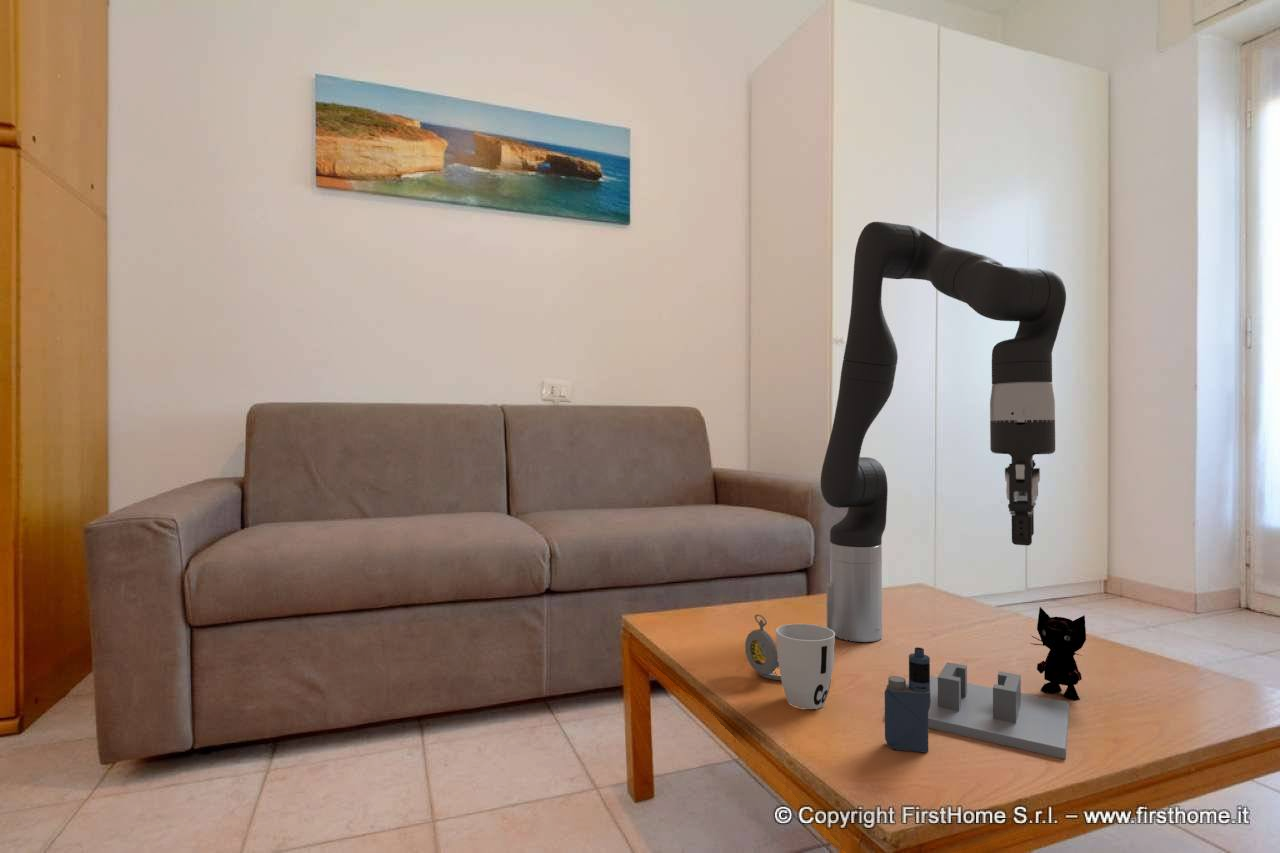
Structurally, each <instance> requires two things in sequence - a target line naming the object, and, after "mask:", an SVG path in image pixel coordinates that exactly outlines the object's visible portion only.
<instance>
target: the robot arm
mask: <svg viewBox="0 0 1280 853" xmlns="http://www.w3.org/2000/svg"><path fill="white" fill-rule="evenodd" d="M884 279H893V280H904V279H905V280H906V279H907V280H908V279H909V280H910V279H913V280H921V281H922V280H923V281H927V282H930V283H931V284H932V286H933V287H934V288H935V289H936V290H937V292H938V291H939V292H940V293H941V294H943V295H945V296H947V297H950V298H952V299H955V300H957V301H959V302H962V303H964V304H967V305H968V306H969V307H970V308H971V309H972V310H973V311H975V312H976V313H977V314H978V315H980V316H982V317H985V318H988V319H990V320H993V321H994V320H995V321H1000V322H1001V321H1002V322H1018V323H1019V324H1018V328H1017V331H1016V333H1015V335H1014V338H1010V339H1004V340H1002V341H999V342H997V343H996V344H995V345H994V346H993V348H992V351H991V353H992V354H991V391H990V399H989V425H990V426H989V433H990V434H989V437H990V440H989V443H990V451H991V453H992V454H996V455H998V454H1002V455H1009V456H1010V457H1011V463H1009V464H1008V466H1006V467H1005V468H1004V478H1005V482H1006V487H1005V488H1006V490H1005V492H1006V499H1007V500H1008V502H1009V503H1008V504H1007V508H1008V512H1009V513H1010V514H1009V515H1011V543H1012V544H1014V545H1016V546H1028V547H1029V546H1030V545H1032V542H1033V536H1034V534H1035V530H1034V528H1035V525H1034V522H1035V521H1034V519H1035V518H1034V515H1035V514H1034V513H1035V512H1034V510H1035V506H1037V505H1036V504H1037V502H1036V501H1037V500H1038V497H1039V483H1040V479H1041V469H1040V467H1035V466H1036V462H1035V459H1034V458H1033V456H1035V455H1051V454H1054V453H1055V452H1056V400H1055V394H1054V388H1053V350H1054V346H1055V342H1056V341H1057V337H1058V333H1059V329H1060V327H1061V326H1060V325H1061V323H1062V319H1063V316H1064V312H1065V308H1066V303H1067V302H1066V301H1067V293H1066V287H1065V285H1064V284H1065V283H1064V281H1063V279H1062V278H1061V276H1059V274H1058V273H1057V272H1055V271H1053V270H1051V269H1047V268H1031V267H1029V268H1028V267H1016V266H1015V267H1013V266H1006V265H1004V264H1003V263H1002V262H1001V261H999V260H997V259H996V258H993V257H991V256H988V255H985V254H981V253H977V252H975V251H970V250H967V249H962V248H957V247H953V246H949V245H947V244H945V243H943V242H941V241H939V240H938V239H935V238H934V237H933V236H932V235H929V234H928V233H927V232H925V231H923V230H921V229H920V228H917V227H915V226H913V225H908V224H899V223H893V222H892V223H890V222H885V221H872V222H870V223H869V222H868V223H867V224H866V225H865V226H864V228H862V230H861V231H860V235H859V236H858V239H857V243H856V247H855V253H854V262H853V276H852V291H851V305H850V306H851V307H850V316H849V322H848V330H847V336H846V337H847V338H846V342H845V349H844V353H843V360H842V365H841V366H842V367H841V371H840V380H839V388H838V396H837V401H836V405H835V406H836V407H835V413H834V418H833V424H832V428H831V432H830V437H829V440H828V444H827V447H826V451H825V455H824V460H823V464H822V468H821V473H820V491H821V494H822V497H823V499H824V501H825V502H826V503H827V504H828V505H829V506H831V507H833V508H842V509H843V508H845V509H846V508H847V512H846V514H845V516H844V517H843V518H842V519H841V520H840V521H839V522H837V523H835V524H834V525H833V526H832V527H830V531H829V565H830V566H829V568H830V570H829V572H830V575H829V578H830V579H829V580H830V581H829V582H827V583H826V628H829V629H831V630H832V631H834V632H835V636H836V637H835V638H837V637H838V638H837V639H840V640H843V639H844V640H843V641H848V640H849V642H857V643H859V642H860V643H869V642H877V641H880V640H882V638H883V570H882V569H883V568H882V567H883V566H882V565H883V563H882V562H883V560H882V558H883V557H882V556H883V555H882V553H883V552H882V551H883V550H882V549H883V548H882V547H883V546H882V544H883V543H882V538H883V535H884V533H885V530H886V526H887V511H888V510H887V509H888V491H889V490H888V489H889V488H888V478H887V474H886V471H885V468H884V466H883V465H882V464H881V462H879V461H878V460H877V459H875V458H873V457H865V456H864V457H863V456H861V457H860V455H861V452H862V446H863V442H864V439H865V437H866V434H867V432H868V430H869V429H870V426H871V425H872V424H873V422H874V421H875V420H876V419H877V417H878V415H879V414H880V413H881V411H882V409H883V408H884V406H885V405H886V404H887V402H888V400H889V398H890V396H891V394H892V391H893V387H894V383H895V377H896V370H897V365H898V350H897V349H898V348H897V345H896V342H895V340H894V337H893V334H892V332H891V329H890V327H889V324H888V323H887V320H886V317H885V313H884V310H883V304H882V294H883V293H882V290H883V280H884Z"/></svg>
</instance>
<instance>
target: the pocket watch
mask: <svg viewBox="0 0 1280 853" xmlns="http://www.w3.org/2000/svg"><path fill="white" fill-rule="evenodd" d="M757 617H761V618H762V619H759V620H758V618H757ZM754 619H755V621H756V622H757V624H758V626H759V628H757V629H754V630H752V631H750V632H749V633H748V635H747V637H746V638H745V654H746V658H747V661H748V662H749V665H750V666H751V667H752V669H753V670H754V671H755V672H757V674H759V675H760V676H761V677H764V678H766V679H769V680H774V681H782V680H781V676H777V674H776V672H775V673H774V674H776V675H774V674H773V671H775V669H776V668H778V667H779V662H778V652H777V644H775V641H774V639H773V638H772V636H771V634H769V633H768V632H767V631H766V630H764V627H765V625H768V624H767V620H766V618H765V617H764V616H763V615H760V614H755V616H754ZM761 660H762V661H764V662H762V661H761ZM778 669H779V668H778ZM771 674H773V675H771Z"/></svg>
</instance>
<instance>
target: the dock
mask: <svg viewBox="0 0 1280 853" xmlns="http://www.w3.org/2000/svg"><path fill="white" fill-rule="evenodd" d="M1021 678H1022V677H1021V674H1018V673H1011V672H1006V671H1005V672H1004V671H1000V670H999V671H998V673H997V683H993V687H992V686H991V687H990V686H986V685H980V684H979V685H978V684H974V683H969V682H968V665H966V664H960V663H954V662H949V661H946V662H945V664H944V666H943V668H942V669H941V671H940V673H939V675H938V676H933V675H930V690H931V692H930V699H931V702H930V708H929V711H928V729H931V730H932V729H934V730H938V731H942V732H945V733H950V734H954V735H959V736H963V737H968V738H971V739H976V740H980V741H985V742H990V743H993V744H998V745H1002V746H1006V745H1007V746H1008V747H1010V748H1011V747H1012V748H1015V749H1019V750H1024V751H1029V752H1033V753H1037V754H1042V755H1047V756H1050V757H1055V758H1058V759H1059V758H1060V759H1063V760H1066V757H1067V756H1066V755H1067V745H1068V744H1067V743H1068V742H1067V741H1068V729H1069V720H1070V719H1069V718H1070V717H1069V716H1070V702H1068V701H1064V700H1059V699H1054V698H1048V697H1045V696H1044V697H1043V696H1037V695H1032V694H1026V693H1022V692H1021V691H1022V686H1021V685H1022V683H1021V682H1022V681H1021V680H1022V679H1021ZM906 684H907V685H909V680H907V681H906ZM1007 746H1006V747H1007Z"/></svg>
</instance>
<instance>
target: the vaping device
mask: <svg viewBox="0 0 1280 853" xmlns="http://www.w3.org/2000/svg"><path fill="white" fill-rule="evenodd" d="M930 662H931V658H930V656H929V655H927V654H925V649H924V648H923V647H919V646H918V647H917V646H916V647H914V652H913V653H910V654H908V681H909V685H907V680H906V678H904V677H901V676H898V675H897V676H893V675H892V676H888V678H887V684H886V688H885V690H884V740H885V742H886V746H887V747H889V748H890V749H891V748H893V749H892V750H894V749H896V750H895V751H902V750H906V751H905V752H913V751H917V753H928V752H929V728H928V711H929V708H930V702H931V699H930V692H931V690H930V676H931V663H930Z"/></svg>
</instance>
